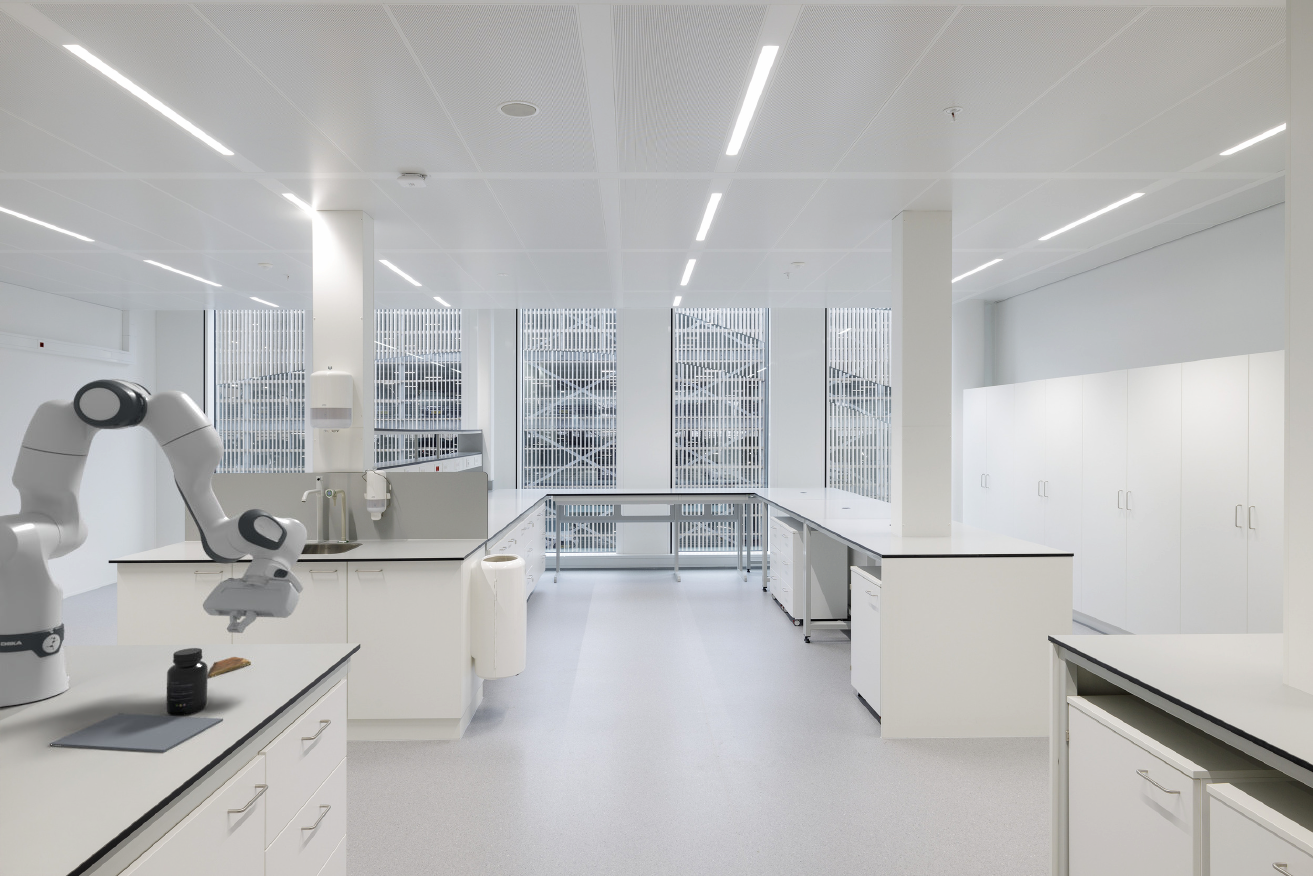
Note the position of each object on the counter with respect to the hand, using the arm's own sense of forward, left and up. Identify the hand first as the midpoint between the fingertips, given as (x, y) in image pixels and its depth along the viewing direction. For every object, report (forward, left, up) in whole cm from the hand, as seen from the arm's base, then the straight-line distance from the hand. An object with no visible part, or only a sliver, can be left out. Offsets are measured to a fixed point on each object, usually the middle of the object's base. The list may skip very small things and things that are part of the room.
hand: (234, 631), depth 149 cm
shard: (-10, +13, -13) cm, 21 cm away
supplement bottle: (0, -13, -13) cm, 18 cm away
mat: (0, -24, -13) cm, 27 cm away
